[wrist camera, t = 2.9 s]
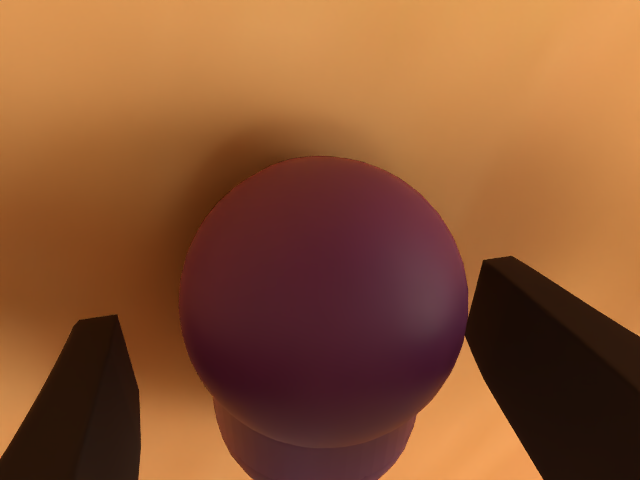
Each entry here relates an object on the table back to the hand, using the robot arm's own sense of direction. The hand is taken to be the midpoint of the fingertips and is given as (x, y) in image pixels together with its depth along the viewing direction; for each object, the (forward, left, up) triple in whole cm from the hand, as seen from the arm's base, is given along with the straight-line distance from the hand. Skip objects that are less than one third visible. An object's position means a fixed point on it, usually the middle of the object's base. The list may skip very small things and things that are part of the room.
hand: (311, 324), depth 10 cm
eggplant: (0, 0, -2) cm, 2 cm away
